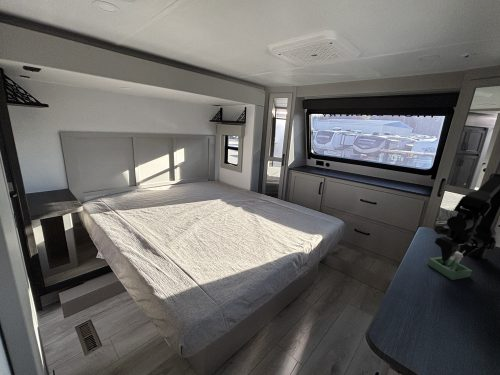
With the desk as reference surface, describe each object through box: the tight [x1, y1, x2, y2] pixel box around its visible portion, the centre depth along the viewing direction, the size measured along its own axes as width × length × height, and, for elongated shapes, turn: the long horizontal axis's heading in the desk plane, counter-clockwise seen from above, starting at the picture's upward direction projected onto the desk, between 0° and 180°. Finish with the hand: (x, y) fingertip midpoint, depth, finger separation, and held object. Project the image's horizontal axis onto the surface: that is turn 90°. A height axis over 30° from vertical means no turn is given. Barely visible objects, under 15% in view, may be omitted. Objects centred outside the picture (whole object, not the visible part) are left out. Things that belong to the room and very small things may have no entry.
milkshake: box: [444, 250, 465, 272], centre depth 92 cm, size 4×5×10 cm
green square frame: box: [426, 256, 473, 281], centre depth 93 cm, size 10×10×3 cm
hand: (451, 259), depth 92 cm, fingers open, 9 cm apart
